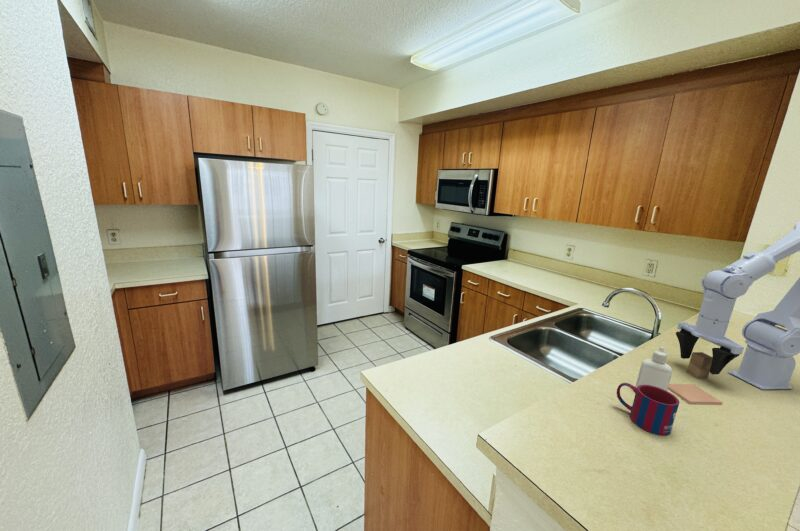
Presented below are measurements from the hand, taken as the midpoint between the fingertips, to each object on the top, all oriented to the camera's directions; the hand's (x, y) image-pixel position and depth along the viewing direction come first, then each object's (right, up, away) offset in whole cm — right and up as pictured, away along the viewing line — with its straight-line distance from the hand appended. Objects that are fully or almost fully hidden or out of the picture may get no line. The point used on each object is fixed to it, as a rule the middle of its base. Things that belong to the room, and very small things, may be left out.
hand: (698, 365), depth 85 cm
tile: (-6, -4, -8) cm, 11 cm away
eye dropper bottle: (-20, -4, -9) cm, 22 cm away
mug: (-29, -6, -18) cm, 35 cm away
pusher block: (0, -3, +1) cm, 3 cm away
